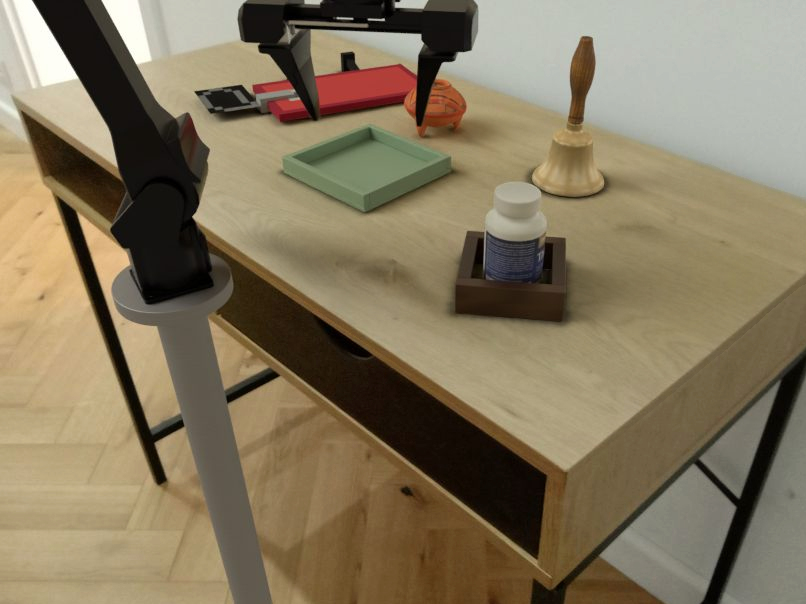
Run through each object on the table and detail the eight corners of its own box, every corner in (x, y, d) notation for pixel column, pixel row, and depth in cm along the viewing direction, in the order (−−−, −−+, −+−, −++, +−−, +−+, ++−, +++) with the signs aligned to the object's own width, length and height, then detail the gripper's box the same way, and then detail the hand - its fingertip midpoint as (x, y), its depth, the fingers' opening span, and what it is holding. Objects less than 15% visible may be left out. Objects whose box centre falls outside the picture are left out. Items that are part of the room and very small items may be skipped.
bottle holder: (454, 313, 69) (455, 284, 67) (466, 257, 76) (466, 230, 74) (562, 321, 68) (565, 293, 66) (562, 264, 75) (566, 237, 73)
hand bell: (585, 161, 94) (603, 23, 84) (616, 192, 87) (639, 46, 77) (521, 169, 91) (531, 28, 82) (548, 202, 85) (562, 53, 75)
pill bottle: (546, 302, 70) (556, 205, 64) (487, 306, 69) (492, 208, 63) (533, 270, 74) (542, 176, 68) (478, 273, 74) (481, 178, 68)
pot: (389, 122, 101) (398, 68, 97) (442, 126, 105) (453, 75, 101) (415, 143, 95) (426, 87, 92) (470, 147, 99) (482, 93, 96)
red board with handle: (191, 93, 107) (222, 134, 97) (187, 72, 105) (218, 113, 95) (390, 65, 119) (435, 99, 109) (389, 46, 117) (435, 79, 108)
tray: (364, 212, 82) (363, 195, 81) (283, 173, 89) (281, 156, 88) (451, 171, 91) (451, 155, 89) (370, 138, 97) (370, 123, 96)
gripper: (486, -93, 64) (482, 94, 74) (266, -100, 66) (290, 84, 75) (472, -66, 55) (469, 142, 65) (218, -74, 57) (253, 130, 67)
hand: (368, 122), depth 68 cm, fingers open, 9 cm apart
